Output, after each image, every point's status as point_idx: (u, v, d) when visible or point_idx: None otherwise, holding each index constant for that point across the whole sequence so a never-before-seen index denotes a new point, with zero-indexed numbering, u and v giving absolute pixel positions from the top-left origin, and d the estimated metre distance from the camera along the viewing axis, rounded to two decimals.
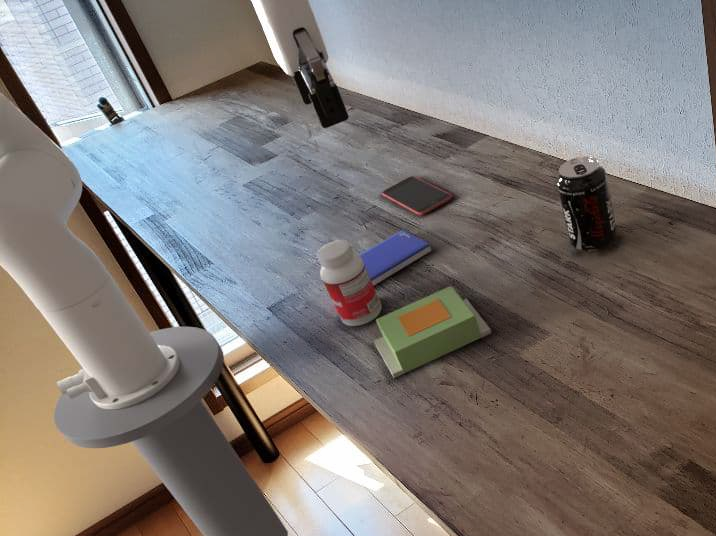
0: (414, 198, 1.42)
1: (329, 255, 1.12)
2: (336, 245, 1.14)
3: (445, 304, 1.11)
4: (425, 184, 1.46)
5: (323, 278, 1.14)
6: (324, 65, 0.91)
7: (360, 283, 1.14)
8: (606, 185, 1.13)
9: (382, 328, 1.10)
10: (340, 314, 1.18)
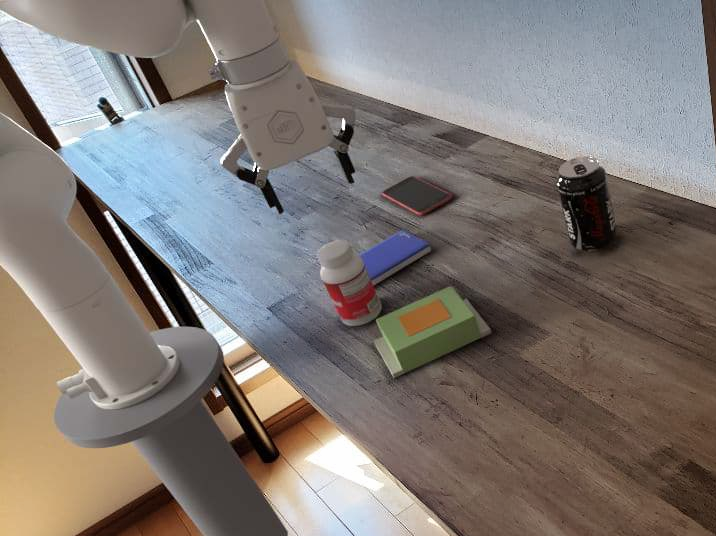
0: (414, 198, 1.42)
1: (329, 255, 1.12)
2: (336, 245, 1.14)
3: (445, 304, 1.11)
4: (425, 184, 1.46)
5: (323, 278, 1.14)
6: None
7: (360, 283, 1.14)
8: (606, 185, 1.13)
9: (382, 328, 1.10)
10: (340, 314, 1.18)
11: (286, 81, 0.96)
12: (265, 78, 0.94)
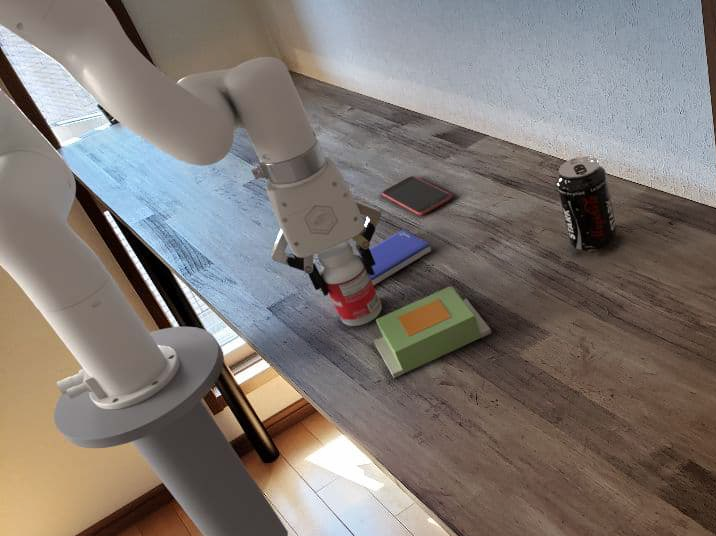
0: (414, 198, 1.42)
1: (329, 255, 1.12)
2: (337, 245, 1.14)
3: (445, 304, 1.11)
4: (425, 184, 1.46)
5: (323, 278, 1.14)
6: None
7: (360, 283, 1.14)
8: (606, 185, 1.13)
9: (382, 328, 1.10)
10: (340, 314, 1.18)
11: (323, 179, 1.05)
12: (304, 179, 1.03)
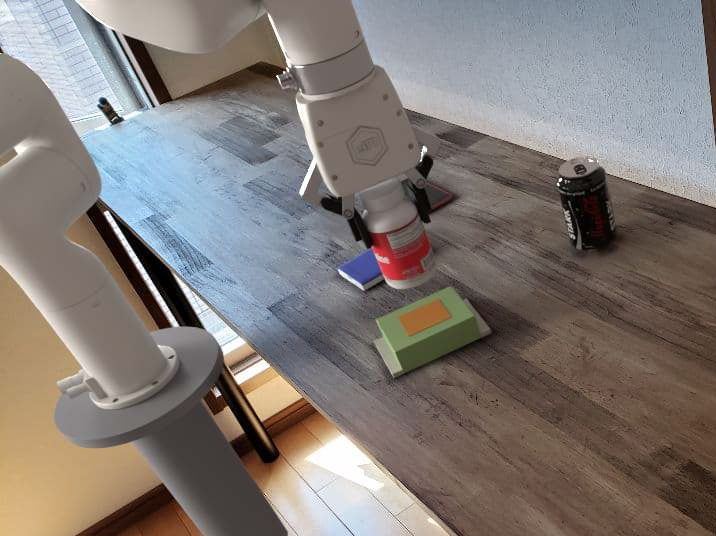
0: None
1: (375, 195, 0.87)
2: (383, 183, 0.89)
3: (445, 304, 1.11)
4: None
5: (366, 226, 0.89)
6: None
7: (413, 232, 0.89)
8: (606, 185, 1.13)
9: (382, 328, 1.10)
10: (386, 273, 0.93)
11: (371, 91, 0.80)
12: (348, 87, 0.78)
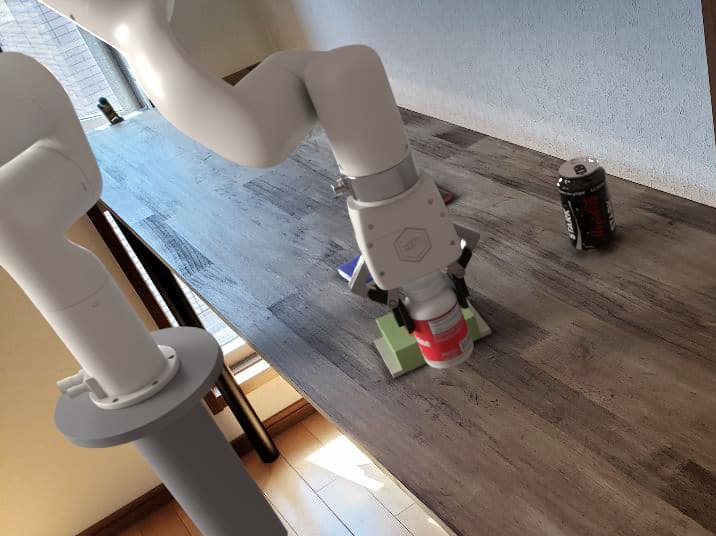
0: None
1: (418, 286, 0.93)
2: None
3: None
4: None
5: (409, 313, 0.94)
6: None
7: (452, 318, 0.95)
8: (606, 185, 1.13)
9: (382, 328, 1.10)
10: (426, 355, 0.98)
11: (417, 196, 0.85)
12: (397, 195, 0.83)
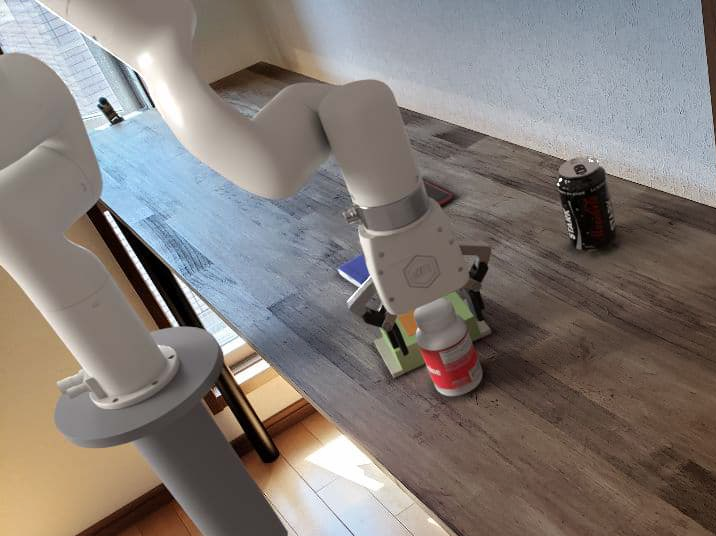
0: None
1: (429, 318, 0.96)
2: (436, 304, 0.97)
3: None
4: (425, 184, 1.46)
5: (420, 343, 0.97)
6: None
7: (462, 348, 0.98)
8: (606, 185, 1.13)
9: (382, 328, 1.10)
10: (436, 383, 1.01)
11: (427, 225, 0.88)
12: (408, 225, 0.86)
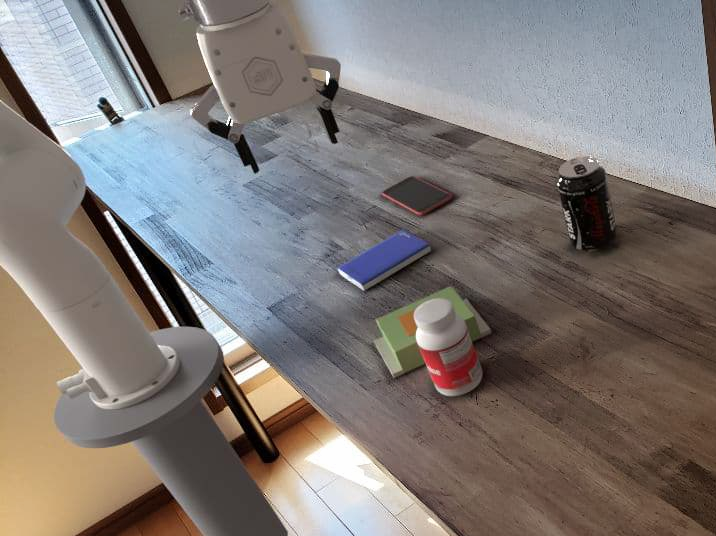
0: (414, 198, 1.42)
1: (429, 318, 0.96)
2: (436, 304, 0.97)
3: None
4: (425, 184, 1.46)
5: (420, 343, 0.97)
6: None
7: (462, 348, 0.98)
8: (606, 185, 1.13)
9: (382, 328, 1.10)
10: (436, 383, 1.01)
11: (264, 24, 0.88)
12: (240, 19, 0.86)
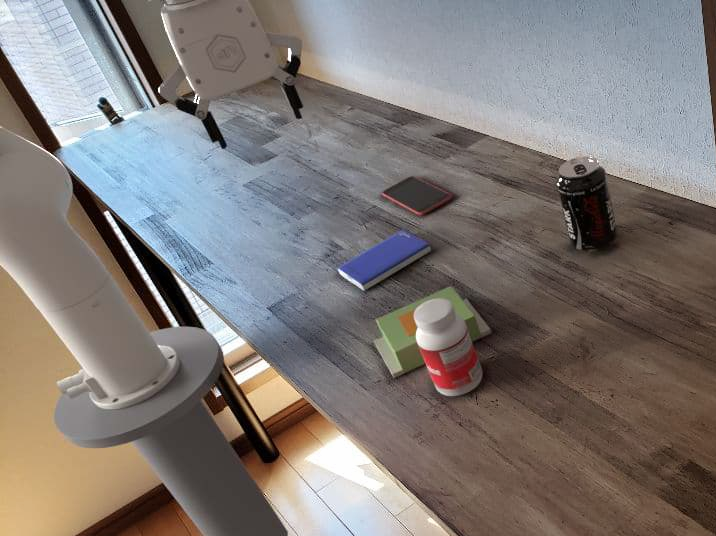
0: (414, 198, 1.42)
1: (429, 318, 0.96)
2: (436, 304, 0.97)
3: None
4: (425, 184, 1.46)
5: (420, 343, 0.97)
6: None
7: (462, 348, 0.98)
8: (606, 185, 1.13)
9: (382, 328, 1.10)
10: (436, 383, 1.01)
11: (225, 3, 0.92)
12: None
